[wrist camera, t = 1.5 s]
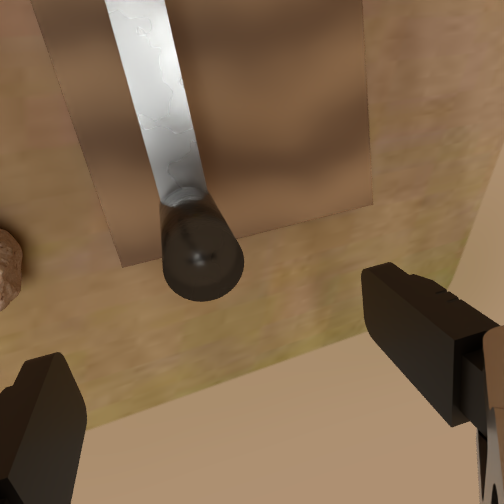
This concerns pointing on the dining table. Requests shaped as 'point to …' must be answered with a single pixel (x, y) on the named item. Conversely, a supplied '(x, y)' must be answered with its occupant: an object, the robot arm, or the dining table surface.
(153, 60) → the lever
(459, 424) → the robot arm
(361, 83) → the board
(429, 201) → the dining table surface
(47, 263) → the dining table surface
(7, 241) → the stone
